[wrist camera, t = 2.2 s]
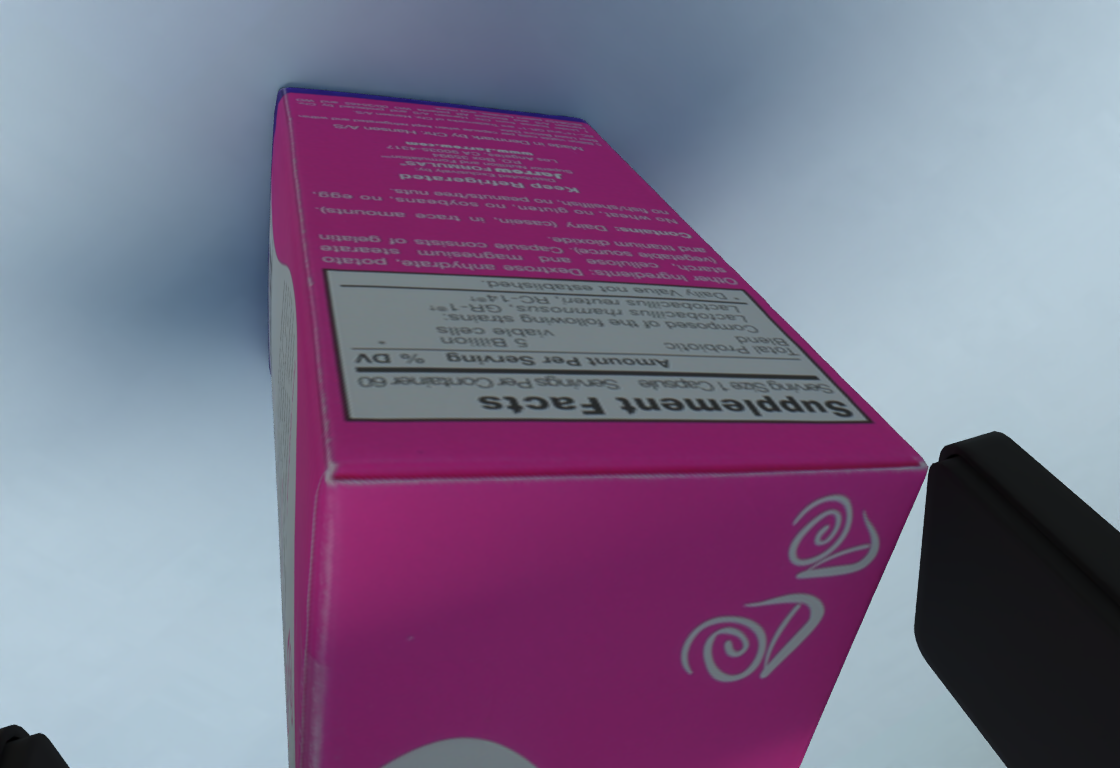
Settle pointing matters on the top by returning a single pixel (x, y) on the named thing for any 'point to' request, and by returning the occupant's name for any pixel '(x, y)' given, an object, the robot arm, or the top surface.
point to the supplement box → (547, 459)
